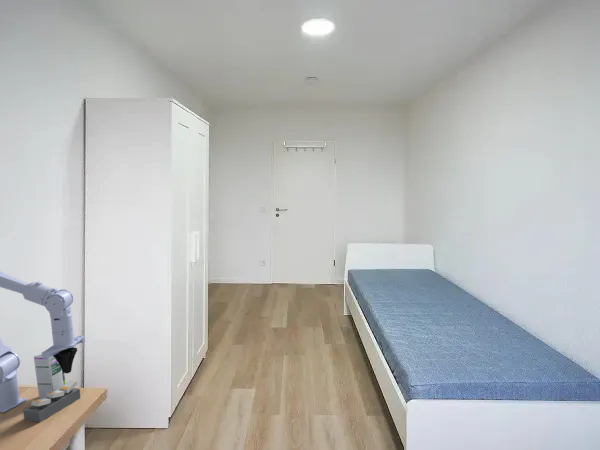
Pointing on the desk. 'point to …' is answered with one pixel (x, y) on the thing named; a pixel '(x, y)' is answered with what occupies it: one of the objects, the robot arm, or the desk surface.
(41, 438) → the desk surface
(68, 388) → the rocker
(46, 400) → the rocker
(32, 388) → the desk surface
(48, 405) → the rocker switch panel
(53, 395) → the block
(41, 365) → the syrup box
